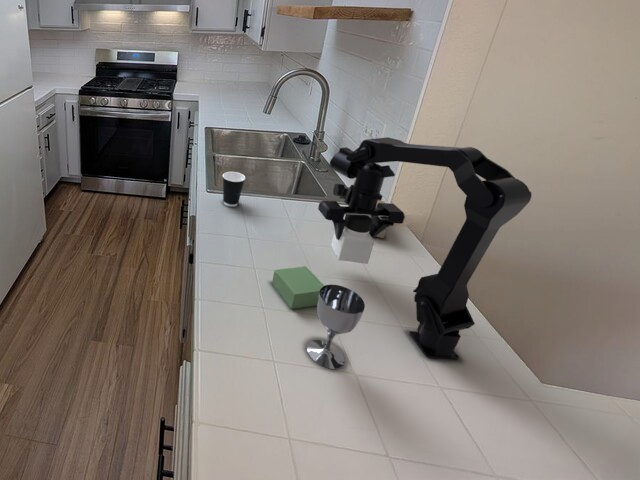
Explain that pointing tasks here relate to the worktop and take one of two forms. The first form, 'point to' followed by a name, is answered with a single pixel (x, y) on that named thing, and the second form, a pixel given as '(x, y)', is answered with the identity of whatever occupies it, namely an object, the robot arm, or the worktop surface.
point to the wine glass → (335, 322)
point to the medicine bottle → (354, 240)
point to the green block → (297, 286)
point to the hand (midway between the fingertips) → (352, 239)
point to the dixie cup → (232, 187)
